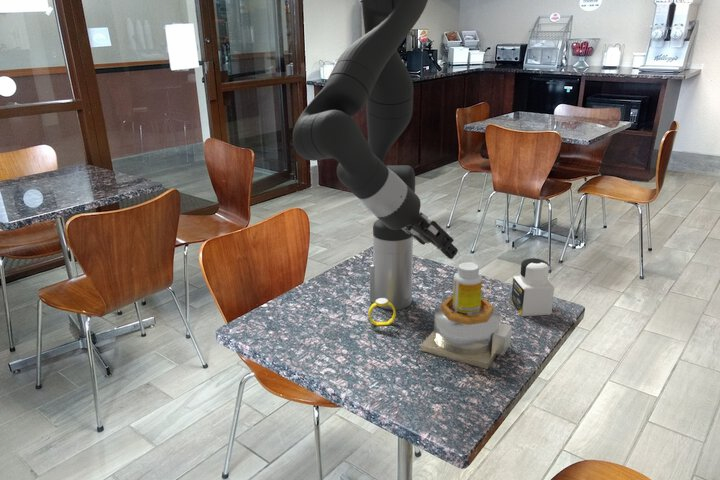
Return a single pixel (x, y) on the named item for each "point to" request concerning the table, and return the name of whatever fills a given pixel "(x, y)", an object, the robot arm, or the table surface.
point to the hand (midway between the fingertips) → (439, 247)
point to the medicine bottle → (533, 289)
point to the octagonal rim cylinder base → (468, 335)
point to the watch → (382, 303)
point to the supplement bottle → (467, 290)
